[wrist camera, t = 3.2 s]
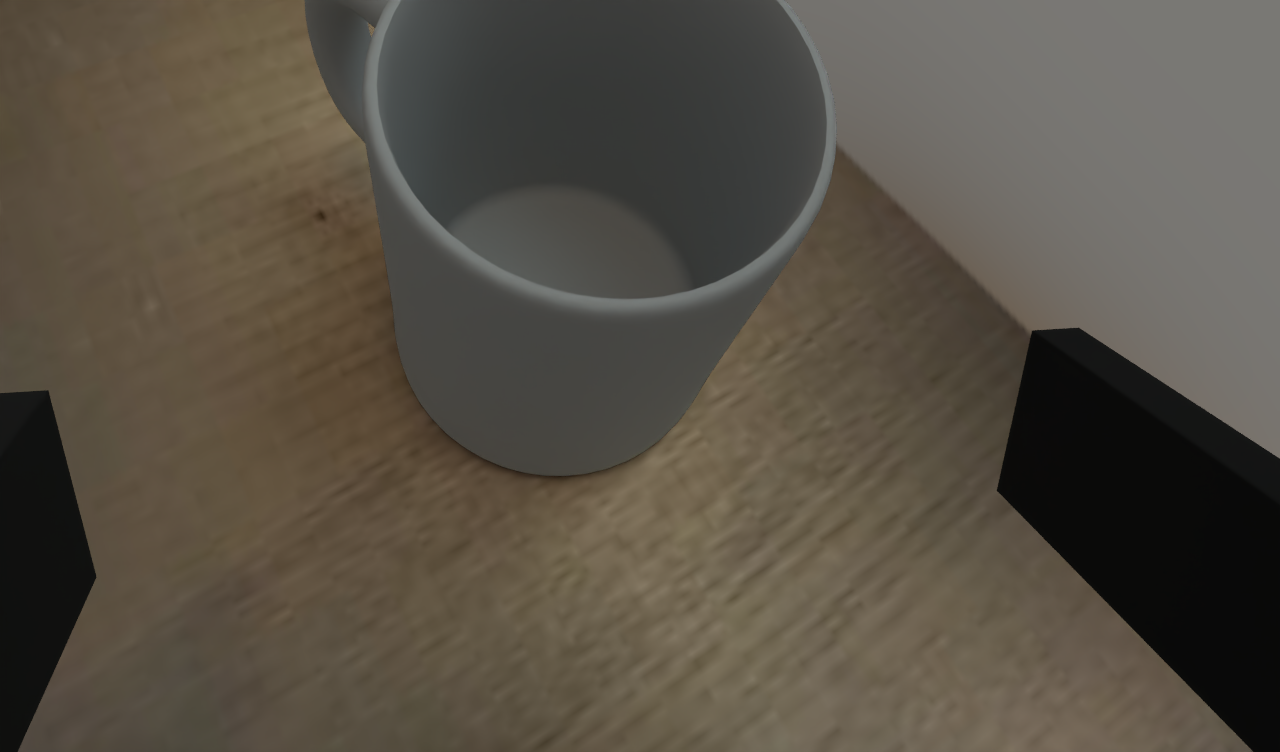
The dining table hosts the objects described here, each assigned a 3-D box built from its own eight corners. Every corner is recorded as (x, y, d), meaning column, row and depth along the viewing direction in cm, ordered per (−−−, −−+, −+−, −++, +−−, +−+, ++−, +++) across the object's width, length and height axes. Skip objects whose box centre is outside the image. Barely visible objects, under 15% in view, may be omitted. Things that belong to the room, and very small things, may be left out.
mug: (764, 323, 28) (932, 96, 18) (571, 546, 25) (643, 425, 15) (453, 68, 30) (448, -280, 19) (232, 252, 26) (88, -45, 16)
